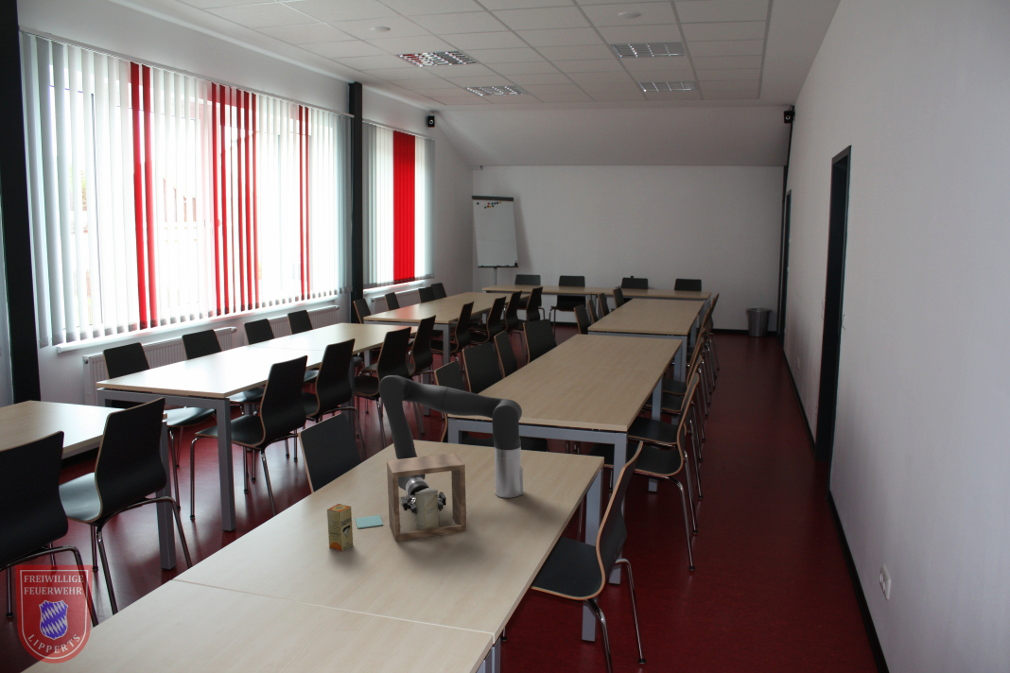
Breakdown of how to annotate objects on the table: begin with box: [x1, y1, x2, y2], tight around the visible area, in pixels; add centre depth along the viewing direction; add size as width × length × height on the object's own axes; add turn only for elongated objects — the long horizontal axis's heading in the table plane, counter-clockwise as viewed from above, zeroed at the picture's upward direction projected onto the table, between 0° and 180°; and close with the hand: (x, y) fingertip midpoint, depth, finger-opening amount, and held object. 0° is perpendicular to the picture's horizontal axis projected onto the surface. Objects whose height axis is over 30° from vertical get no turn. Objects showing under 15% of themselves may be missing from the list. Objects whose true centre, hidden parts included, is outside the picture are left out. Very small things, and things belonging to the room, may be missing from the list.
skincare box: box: [415, 487, 440, 531], centre depth 227 cm, size 6×4×12 cm
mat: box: [354, 514, 384, 530], centre depth 233 cm, size 8×8×1 cm
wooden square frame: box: [386, 452, 467, 542], centre depth 226 cm, size 22×12×22 cm, turn 107°
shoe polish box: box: [326, 503, 354, 552], centre depth 215 cm, size 5×5×12 cm
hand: (428, 509), depth 225 cm, fingers closed on skincare box, 7 cm apart
